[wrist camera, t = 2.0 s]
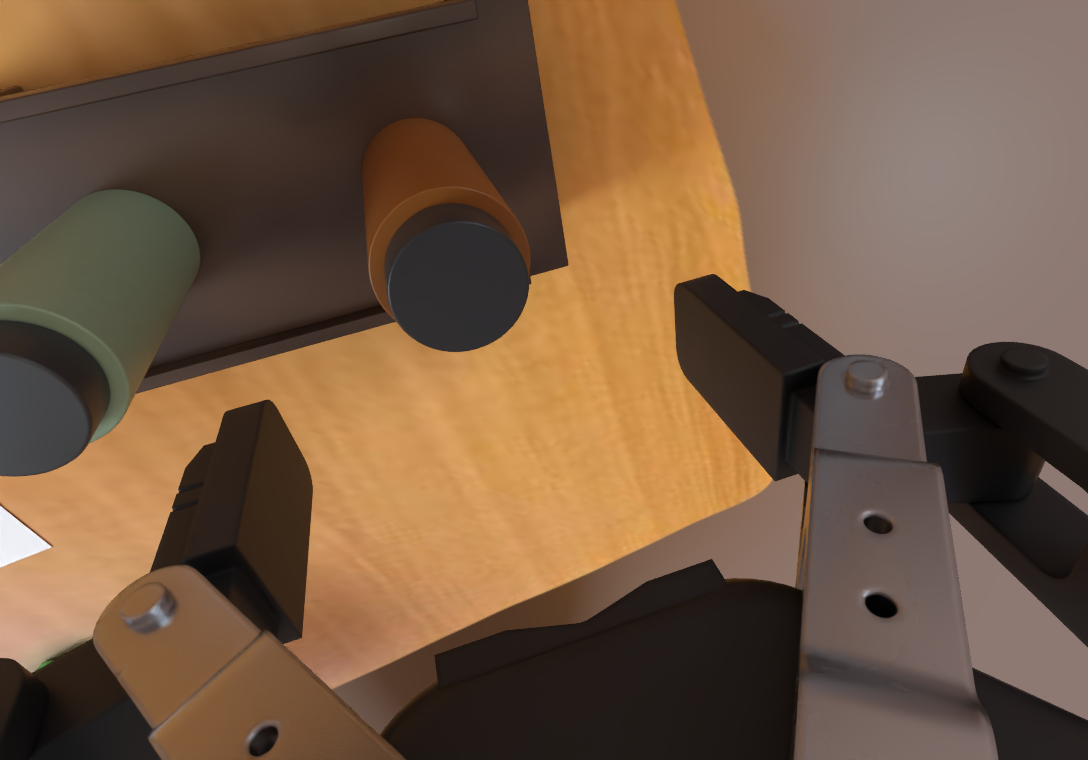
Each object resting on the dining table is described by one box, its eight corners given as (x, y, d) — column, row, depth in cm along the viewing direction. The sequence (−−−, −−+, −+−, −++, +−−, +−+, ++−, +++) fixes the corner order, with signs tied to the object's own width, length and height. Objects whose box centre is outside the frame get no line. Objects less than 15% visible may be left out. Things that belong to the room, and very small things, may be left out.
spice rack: (-32, 96, 24) (-163, 135, 18) (489, -15, 27) (531, -14, 21) (122, 325, 31) (65, 413, 25) (531, 218, 34) (574, 272, 27)
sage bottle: (35, 205, 21) (-192, 367, 12) (163, 175, 22) (35, 310, 13) (108, 313, 24) (-36, 512, 15) (221, 284, 24) (148, 458, 15)
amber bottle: (345, 132, 22) (342, 231, 14) (459, 105, 23) (528, 183, 14) (382, 242, 25) (401, 385, 16) (484, 215, 26) (556, 340, 17)
